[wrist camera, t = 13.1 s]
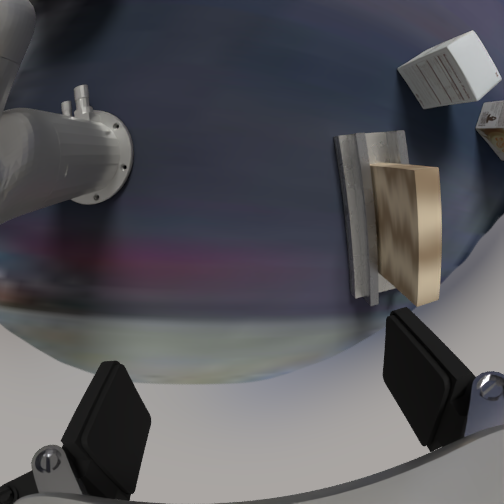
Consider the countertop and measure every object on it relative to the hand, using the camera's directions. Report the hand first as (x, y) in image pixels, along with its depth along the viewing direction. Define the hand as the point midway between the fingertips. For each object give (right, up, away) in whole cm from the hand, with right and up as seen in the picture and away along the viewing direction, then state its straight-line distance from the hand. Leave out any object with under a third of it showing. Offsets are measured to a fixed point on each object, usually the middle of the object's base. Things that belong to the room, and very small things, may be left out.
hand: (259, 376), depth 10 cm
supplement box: (+25, +30, +24) cm, 46 cm away
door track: (+16, +9, +30) cm, 35 cm away
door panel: (+16, +9, +28) cm, 34 cm away
